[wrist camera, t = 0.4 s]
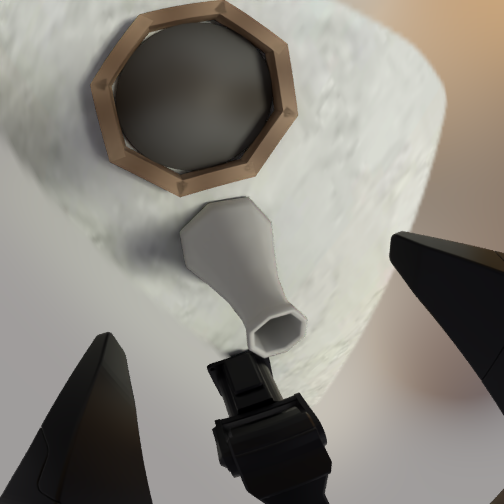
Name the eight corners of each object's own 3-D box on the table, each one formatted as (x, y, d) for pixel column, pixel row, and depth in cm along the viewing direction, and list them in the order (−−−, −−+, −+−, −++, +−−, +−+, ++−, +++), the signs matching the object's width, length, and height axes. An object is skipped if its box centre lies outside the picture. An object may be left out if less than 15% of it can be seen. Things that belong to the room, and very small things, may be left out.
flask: (205, 295, 24) (240, 396, 15) (162, 225, 19) (174, 324, 11) (283, 255, 24) (349, 338, 16) (254, 179, 20) (331, 244, 12)
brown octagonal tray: (294, 160, 20) (303, 165, 19) (128, 206, 18) (127, 214, 17) (270, 3, 14) (278, -3, 12) (86, 38, 11) (81, 33, 10)
